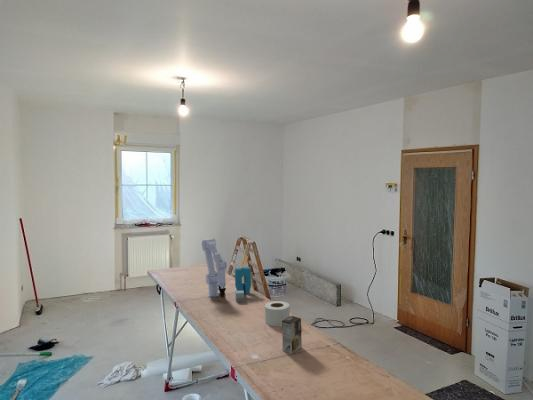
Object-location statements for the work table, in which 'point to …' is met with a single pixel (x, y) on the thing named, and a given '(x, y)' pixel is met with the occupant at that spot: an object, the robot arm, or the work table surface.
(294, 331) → the coffee box
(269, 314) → the roll of tape
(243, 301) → the tower base
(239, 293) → the tower middle
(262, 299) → the work table surface
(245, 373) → the work table surface
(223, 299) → the walnut cube
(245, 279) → the block
